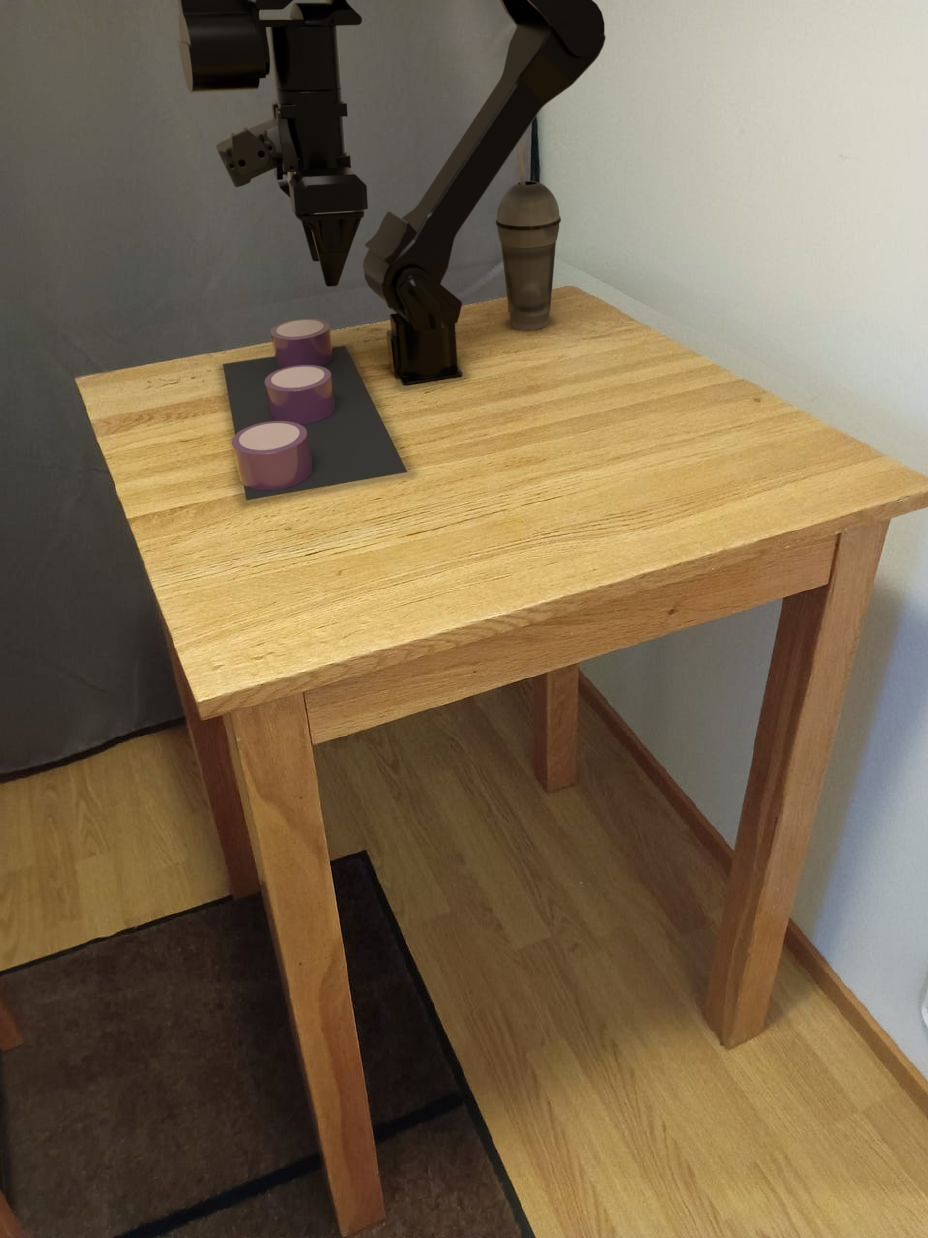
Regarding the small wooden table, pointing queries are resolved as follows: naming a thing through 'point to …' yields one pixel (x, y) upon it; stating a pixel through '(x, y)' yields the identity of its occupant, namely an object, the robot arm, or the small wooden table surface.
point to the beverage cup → (528, 249)
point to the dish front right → (272, 455)
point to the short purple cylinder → (302, 343)
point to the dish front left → (300, 394)
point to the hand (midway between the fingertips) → (324, 272)
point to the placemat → (321, 424)
